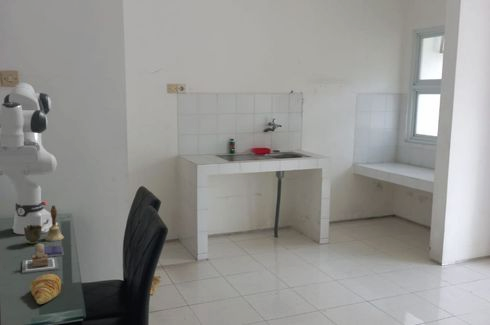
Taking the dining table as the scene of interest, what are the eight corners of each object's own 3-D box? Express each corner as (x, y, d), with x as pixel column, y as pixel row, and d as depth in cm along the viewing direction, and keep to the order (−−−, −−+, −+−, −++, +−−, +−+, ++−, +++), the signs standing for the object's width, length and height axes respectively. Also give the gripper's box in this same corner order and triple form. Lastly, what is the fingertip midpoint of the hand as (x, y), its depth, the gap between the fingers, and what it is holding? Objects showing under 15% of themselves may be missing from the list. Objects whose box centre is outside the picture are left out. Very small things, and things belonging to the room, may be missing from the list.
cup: (35, 247, 208) (34, 230, 207) (20, 245, 210) (20, 228, 209) (45, 242, 216) (45, 225, 214) (31, 240, 217) (31, 223, 216)
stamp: (32, 262, 189) (32, 243, 188) (47, 261, 191) (46, 242, 190) (32, 267, 184) (32, 248, 183) (47, 266, 186) (47, 246, 185)
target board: (22, 261, 191) (22, 260, 191) (56, 258, 196) (56, 256, 196) (22, 273, 179) (22, 271, 179) (58, 269, 185) (58, 268, 185)
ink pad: (40, 250, 205) (40, 247, 204) (62, 248, 208) (62, 245, 208) (41, 257, 197) (41, 253, 196) (63, 255, 200) (63, 251, 200)
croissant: (49, 316, 155) (61, 295, 155) (20, 304, 152) (32, 283, 152) (58, 288, 175) (69, 270, 175) (33, 277, 172) (43, 259, 172)
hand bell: (45, 242, 216) (45, 208, 214) (44, 236, 223) (43, 204, 221) (64, 240, 220) (64, 207, 217) (62, 235, 227) (62, 203, 225)
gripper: (39, 141, 201) (40, 172, 203) (-15, 141, 192) (-14, 173, 195) (39, 142, 195) (40, 175, 197) (-16, 142, 187) (-15, 176, 189)
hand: (13, 174), depth 196 cm, fingers open, 8 cm apart
